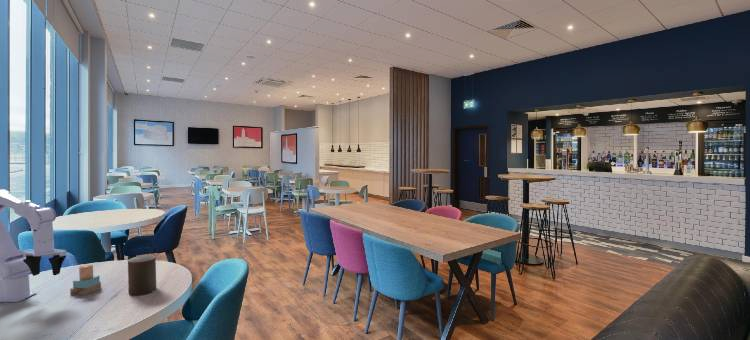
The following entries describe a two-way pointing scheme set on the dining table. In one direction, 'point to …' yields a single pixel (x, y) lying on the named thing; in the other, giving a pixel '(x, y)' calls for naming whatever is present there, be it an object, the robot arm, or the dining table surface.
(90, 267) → the terracotta cylinder
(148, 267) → the pillar candle
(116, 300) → the dining table surface
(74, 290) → the walnut base slab
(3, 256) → the robot arm
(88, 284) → the teal top slab
